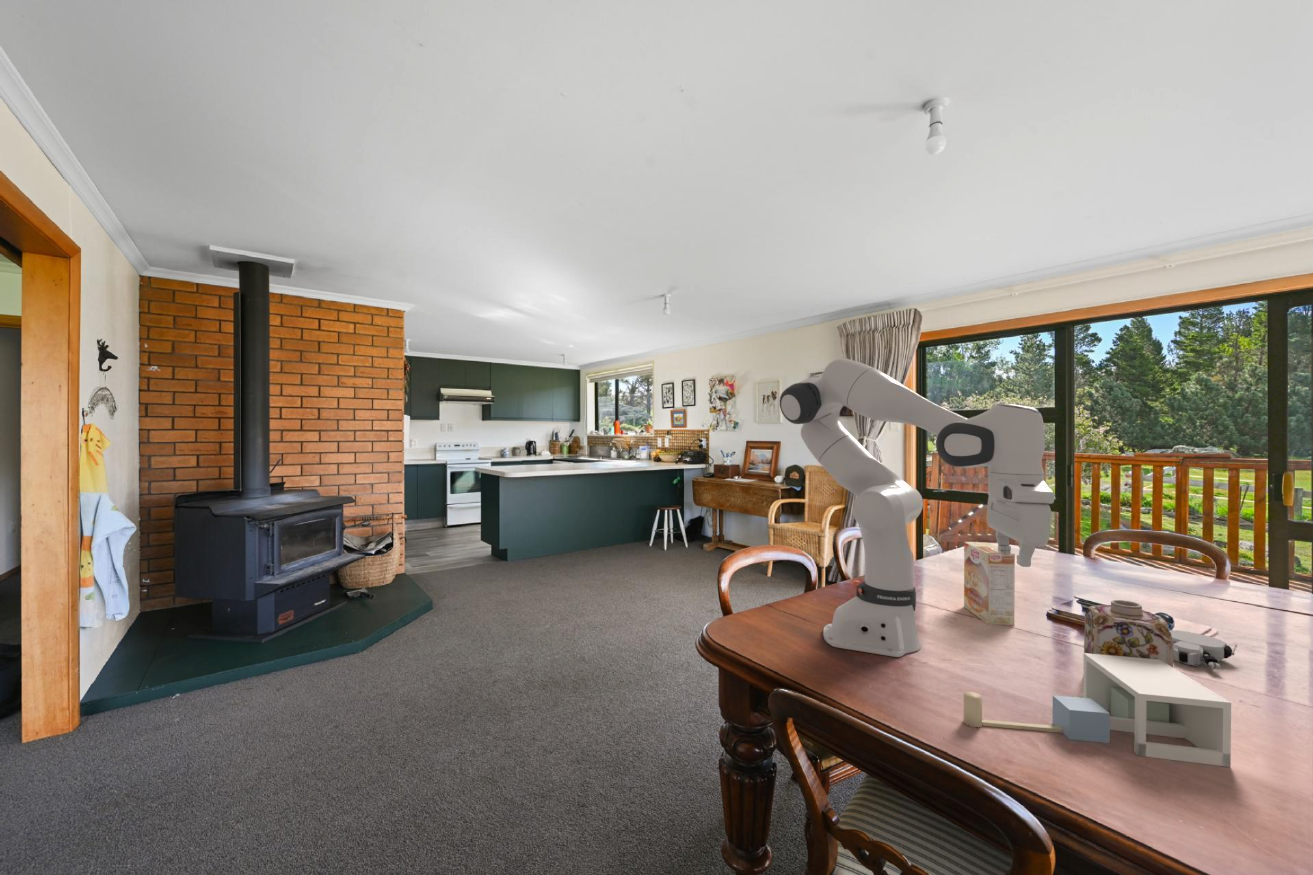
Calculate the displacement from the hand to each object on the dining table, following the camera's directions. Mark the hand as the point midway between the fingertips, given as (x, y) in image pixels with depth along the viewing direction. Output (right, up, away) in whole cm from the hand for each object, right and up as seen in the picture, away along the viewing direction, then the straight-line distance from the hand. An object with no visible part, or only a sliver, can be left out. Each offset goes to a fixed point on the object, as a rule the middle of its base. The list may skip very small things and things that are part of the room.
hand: (1013, 559), depth 101 cm
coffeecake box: (+25, -27, +48) cm, 60 cm away
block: (+17, -28, -7) cm, 33 cm away
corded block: (-3, -27, -9) cm, 29 cm away
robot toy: (+54, -28, +19) cm, 64 cm away
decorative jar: (+25, -28, +4) cm, 37 cm away
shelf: (+16, -27, -11) cm, 33 cm away
